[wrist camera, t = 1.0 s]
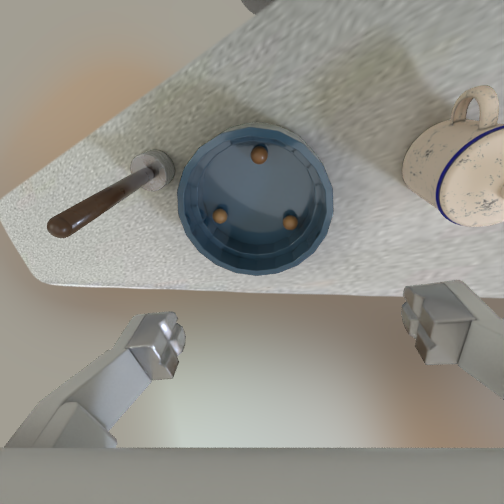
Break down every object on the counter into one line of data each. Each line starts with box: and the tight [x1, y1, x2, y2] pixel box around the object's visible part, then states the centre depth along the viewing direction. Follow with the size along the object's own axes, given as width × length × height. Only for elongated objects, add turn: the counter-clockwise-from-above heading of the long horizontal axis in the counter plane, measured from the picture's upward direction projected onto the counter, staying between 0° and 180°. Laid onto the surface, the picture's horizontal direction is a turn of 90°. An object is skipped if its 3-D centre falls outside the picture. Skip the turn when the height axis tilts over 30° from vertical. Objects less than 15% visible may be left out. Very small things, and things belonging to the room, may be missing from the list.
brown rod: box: [47, 150, 175, 238], centre depth 25 cm, size 4×4×18 cm
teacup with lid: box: [402, 85, 504, 227], centre depth 24 cm, size 12×9×12 cm
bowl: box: [177, 122, 334, 276], centre depth 31 cm, size 18×18×6 cm
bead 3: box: [283, 215, 298, 230], centre depth 34 cm, size 2×2×2 cm
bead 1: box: [212, 209, 227, 224], centre depth 34 cm, size 2×2×2 cm
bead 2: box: [251, 146, 268, 164], centre depth 29 cm, size 2×2×2 cm
